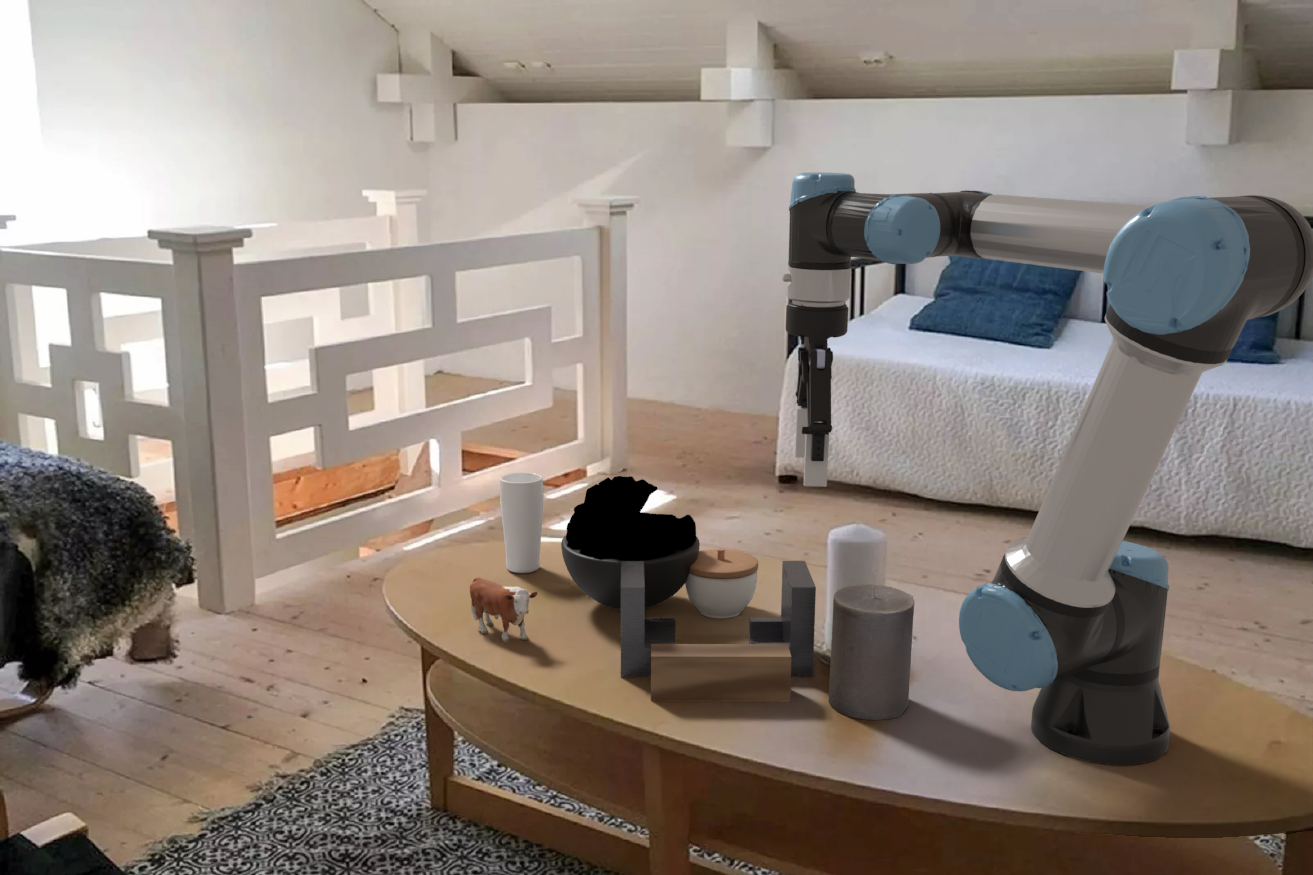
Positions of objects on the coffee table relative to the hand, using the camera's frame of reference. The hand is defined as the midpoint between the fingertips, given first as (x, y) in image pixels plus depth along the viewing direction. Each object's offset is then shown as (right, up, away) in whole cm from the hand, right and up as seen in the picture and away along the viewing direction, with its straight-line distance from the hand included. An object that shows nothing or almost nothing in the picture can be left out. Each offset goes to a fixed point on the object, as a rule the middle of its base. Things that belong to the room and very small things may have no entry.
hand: (810, 471), depth 165 cm
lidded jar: (-10, -21, +26) cm, 35 cm away
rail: (-11, -28, -2) cm, 30 cm away
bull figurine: (-40, -23, +16) cm, 49 cm away
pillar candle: (+7, -28, -5) cm, 30 cm away
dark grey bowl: (-23, -21, +28) cm, 42 cm away
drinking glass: (-40, -17, +44) cm, 62 cm away
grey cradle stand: (-12, -25, +8) cm, 29 cm away
